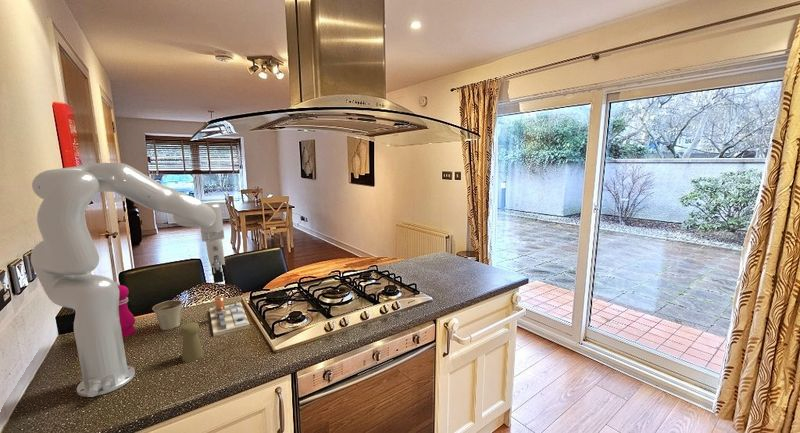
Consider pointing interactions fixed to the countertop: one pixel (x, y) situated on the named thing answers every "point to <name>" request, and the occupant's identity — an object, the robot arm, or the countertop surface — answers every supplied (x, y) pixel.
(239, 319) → the gauge board
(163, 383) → the countertop surface
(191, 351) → the cork
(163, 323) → the flower pot
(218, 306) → the sliding point
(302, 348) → the countertop surface
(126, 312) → the pepper mill
